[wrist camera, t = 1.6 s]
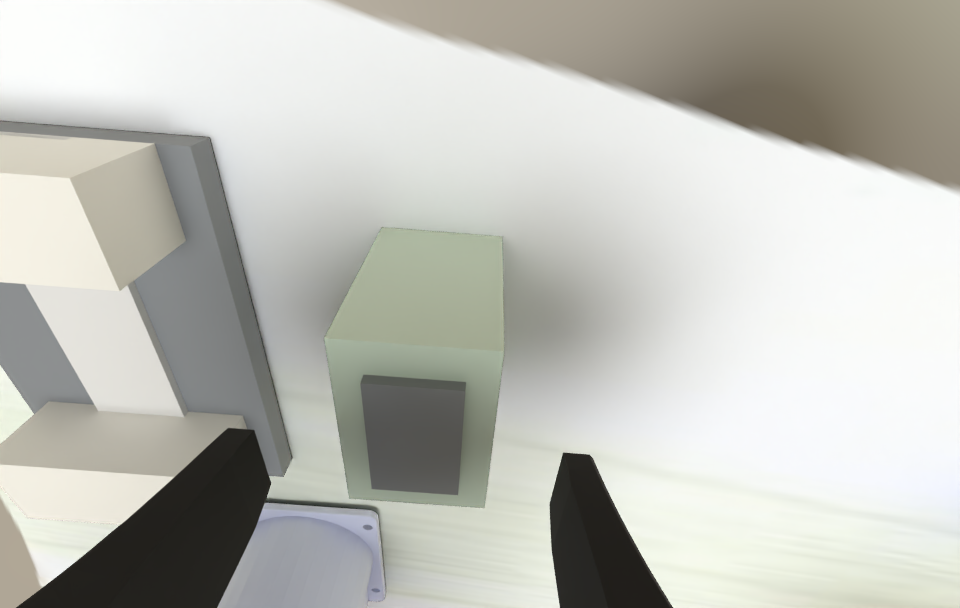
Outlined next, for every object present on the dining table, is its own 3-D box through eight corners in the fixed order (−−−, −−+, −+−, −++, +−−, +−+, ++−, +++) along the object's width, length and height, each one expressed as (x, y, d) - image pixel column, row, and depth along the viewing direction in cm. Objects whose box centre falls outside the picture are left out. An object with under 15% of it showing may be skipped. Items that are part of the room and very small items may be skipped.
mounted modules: (259, 468, 21) (227, 532, 18) (84, 455, 21) (27, 518, 18) (154, 143, 13) (69, 178, 10) (-135, 120, 13) (-292, 150, 10)
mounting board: (291, 458, 22) (281, 482, 21) (83, 443, 22) (61, 466, 21) (209, 137, 13) (184, 148, 12) (-130, 110, 13) (-185, 120, 12)
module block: (488, 370, 18) (484, 517, 13) (389, 363, 18) (346, 508, 13) (502, 235, 15) (504, 360, 10) (382, 226, 15) (319, 346, 10)
